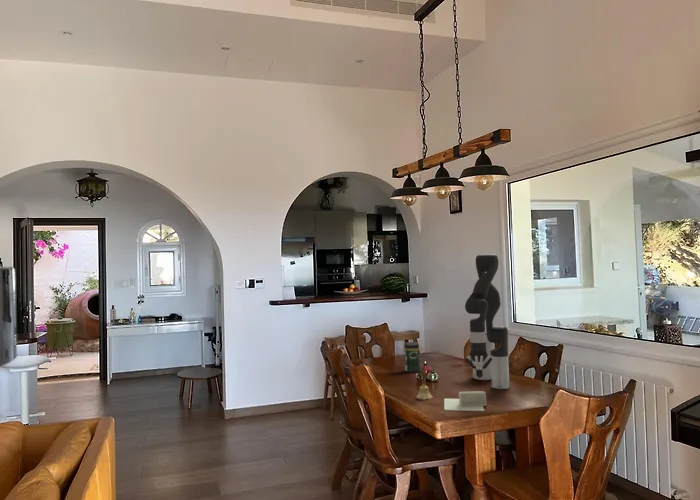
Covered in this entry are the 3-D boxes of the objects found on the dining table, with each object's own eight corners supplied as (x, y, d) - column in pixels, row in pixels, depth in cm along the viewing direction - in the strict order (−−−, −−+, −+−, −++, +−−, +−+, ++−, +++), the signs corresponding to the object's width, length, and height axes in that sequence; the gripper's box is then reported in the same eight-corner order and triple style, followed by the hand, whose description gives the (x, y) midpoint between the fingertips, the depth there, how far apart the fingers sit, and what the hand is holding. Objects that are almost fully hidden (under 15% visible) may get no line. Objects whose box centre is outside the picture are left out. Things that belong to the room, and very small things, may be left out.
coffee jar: (418, 369, 336) (417, 340, 337) (421, 372, 328) (420, 342, 329) (403, 370, 335) (402, 341, 336) (406, 372, 327) (405, 343, 328)
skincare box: (483, 390, 249) (458, 391, 249) (486, 392, 245) (460, 393, 245) (484, 404, 249) (458, 404, 249) (486, 406, 244) (460, 406, 244)
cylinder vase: (469, 377, 309) (467, 335, 310) (487, 375, 313) (485, 333, 314) (480, 381, 297) (478, 337, 298) (499, 379, 301) (497, 336, 302)
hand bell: (416, 395, 270) (415, 364, 270) (432, 395, 269) (431, 364, 269) (416, 399, 261) (415, 367, 262) (433, 399, 260) (431, 367, 261)
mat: (444, 399, 260) (444, 398, 260) (481, 399, 257) (481, 399, 257) (444, 410, 241) (444, 409, 241) (484, 411, 237) (484, 410, 237)
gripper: (491, 339, 251) (493, 375, 250) (463, 339, 253) (465, 375, 253) (493, 342, 243) (494, 379, 243) (464, 342, 246) (465, 379, 245)
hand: (479, 377), depth 248 cm, fingers closed
